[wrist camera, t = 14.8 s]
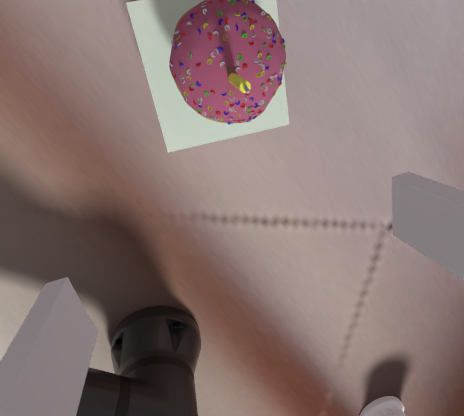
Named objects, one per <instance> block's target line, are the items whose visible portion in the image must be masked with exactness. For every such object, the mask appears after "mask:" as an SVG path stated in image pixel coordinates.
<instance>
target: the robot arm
mask: <svg viewBox="0 0 464 416" xmlns="http://www.w3.org/2000/svg"><path fill="white" fill-rule="evenodd" d="M392 211H393V235H394V236H396V237H397V238H399V239H400V240H402V241H403V242H405V243H406V244H408V245H410V246H411V247H413V248H414V249H416V250H417V251H419V252H420V253H422V254H423V255H425V256H427V257H428V258H430V259H431V260H433V261H434V262H436V263H437V264H439V265H440V266H442V267H444V268H445V269H447V270H448V271H450V272H451V273H453V274H454V275H456V276H457V277H459V278H461V279H462V280H464V191H462V190H459V189H456V188H453V187H450V186H448V185H445V184H442V183H439V182H436V181H433V180H431V179H428V178H425V177H422V176H419V175H416V174H414V173H411V172H407V173H403V174H400V175H397V176H394V177H392ZM97 333H98V331H97V330H96V328H95V326H94V324H93V322H92V320H91V319H90V317H89V315H88V313H87V311H86V310H85V308H84V306H83V304H82V302H81V301H80V299H79V297H78V295H77V293H76V291H75V290H74V288H73V286H72V284H71V282H70V281H69V279H68V277H65V278H62V279H59V280H55V281H52V282H49V283H46V284H45V286H44V288H43V289H42V291H41V293H40V295H39V296H38V298H37V300H36V302H35V303H34V305H33V307H32V308H31V310H30V312H29V314H28V315H27V317H26V319H25V320H24V322H23V324H22V326H21V327H20V329H19V331H18V332H17V334H16V336H15V338H14V339H13V341H12V343H11V344H10V346H9V348H8V350H7V351H6V353H5V355H4V357H3V358H2V360H1V362H0V416H198V413H197V402H196V392H195V383H194V372H195V368H196V365H197V361H198V357H199V353H200V349H201V338H200V331H199V327H198V325H197V323H196V322H195V321H194V319H193V318H192V317H191V316H189V315H188V314H187V313H185V312H183V311H181V310H178V309H175V308H170V307H151V308H146V309H143V310H140V311H137V312H135V313H133V314H132V315H130V316H128V317H127V318H126V319H125V320H123V321H122V322H121V323H120V325H119V326H118V327H117V329H116V331H115V333H114V336H113V341H112V346H111V358H112V362H113V367H114V371H115V374H113V373H109V372H105V371H101V370H98V369H94V368H90V367H89V364H90V360H91V356H92V352H93V348H94V344H95V340H96V336H97Z"/></svg>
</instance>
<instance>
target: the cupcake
mask: <svg viewBox="0 0 464 416" xmlns="http://www.w3.org/2000/svg"><path fill="white" fill-rule="evenodd" d="M254 2H255V1H254V0H251V1H250V0H204V1H202V2H200V3H199V4H197V5H196V6H194V7H192V8H191V9H189V10H188V11H187V12H186V13H184V14H183V15H182V17H181V18H180V19H179V21H178V22H177V25H176V27H175V31H174V36H173V40H172V41H171V45H172V48H171V55H170V61H169V68H170V72H171V74H172V77H173V79H174V81H175V84H176V86H177V88H178V90H179V91H180V93H181V95H182V96H183V98H184V101H186V103H187V104H188V105H189V106H190V107H191V108H192V109H193V110H195V111H196V112H197V113H198V114H200V115H201V116H203V117H205V118H207V119H209V120H212V121H216V122H220V123H228V124H229V125H230V124H233V123H245V122H251V120H253V119H255V118H256V117H258V116H259V115H260V114H262V113H263V112H264V111H265V109H266V107H267V106H268V104H269V102H270V101H271V99H272V98H273V96H275V93H276V91H277V90H278V88H279V86H280V85H281V84H282V82H281V81H282V76H283V73H284V72H283V70H284V66H285V64H286V62H285V60H286V53H285V45H284V44H283V43H284V39H283V38H282V37H281V35H280V32H279V30H278V27H277V25H276V23H275V21H274V20H273V18H272V17H271V15H270V14H268V13H266V12H265V11H264V10H263V9H262V8H261V7H260V6H258V5H257V4H256V3H254Z"/></svg>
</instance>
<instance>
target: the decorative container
mask: <svg viewBox="0 0 464 416" xmlns="http://www.w3.org/2000/svg"><path fill="white" fill-rule="evenodd" d="M403 412H404V406H403V404H402V402H401V401H400V400H399V399H398V398H397V397H394V396H385V397H381V398H378V399H376V400H374V401H372V402H371V403H369V404H368V405H367V406H366V407H365V408H364V409H363V410H362V412H361V413H360V416H406V415H405V414H404V413H403Z"/></svg>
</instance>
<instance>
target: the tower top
mask: <svg viewBox="0 0 464 416" xmlns="http://www.w3.org/2000/svg"><path fill="white" fill-rule="evenodd" d="M202 1H204V0H138V1H133V2H127V3H126V4H127V8H128V12H129V15H130V19H131V22H132V26H133V29H134V33H135V37H136V40H137V44H138V47H139V51H140V54H141V58H142V61H143V65H144V69H145V72H146V76H147V79H148V83H149V86H150V90H151V94H152V97H153V101H154V104H155V108H156V111H157V115H158V118H159V122H160V126H161V129H162V133H163V136H164V140H165V143H166V147H167V151H168V152H172V151H176V150H181V149H185V148H189V147H194V146H198V145H202V144H207V143H211V142H215V141H220V140H224V139H228V138H233V137H237V136H241V135H246V134H250V133H254V132H259V131H263V130H267V129H271V128H276V127H280V126H284V125H289V118H288V108H287V98H286V89H285V79H284V73H283V76H282V81H281V82H282V84H281V85H280V86H279V88H278V90H277V91H276V93H275V96H273V98H272V99H271V101H270V102H269V104H268V106H267V107H266V109H265V111H264V112H263V113H262V114H260V115H259V116H258V117H256V118H255V119H253V120H251V122H245V123H233V124H230V125H229V124H228V123H220V122H216V121H212V120H209V119H207V118H205V117H203V116H201V115H200V114H198V113H197V112H196V111H195V110H193V109H192V108H191V107H190V106H189V105H188V104H187V103H186V101H184V98H183V96H182V95H181V93H180V91H179V90H178V88H177V86H176V84H175V81H174V79H173V77H172V74H171V72H170V68H169V61H170V55H171V48H172V45H171V41H172V40H173V36H174V31H175V27H176V25H177V22H178V21H179V19H180V18H181V17H182V15H183V14H184V13H186V12H187V11H188V10H189V9H191V8H192V7H194V6H196V5H197V4H199V3H200V2H202ZM250 1H251V0H250ZM254 1H255V2H254V3H256V4H257V5H258V6H260V7H261V8H262V9H263V10H264V11H265V12H266V13H268V14H270V15H271V17H272V18H273V20H274V21H275V23H276V25H277V27H278V30H279V22H278V12H277V2H276V0H254ZM279 32H280V31H279ZM283 72H284V70H283Z"/></svg>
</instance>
